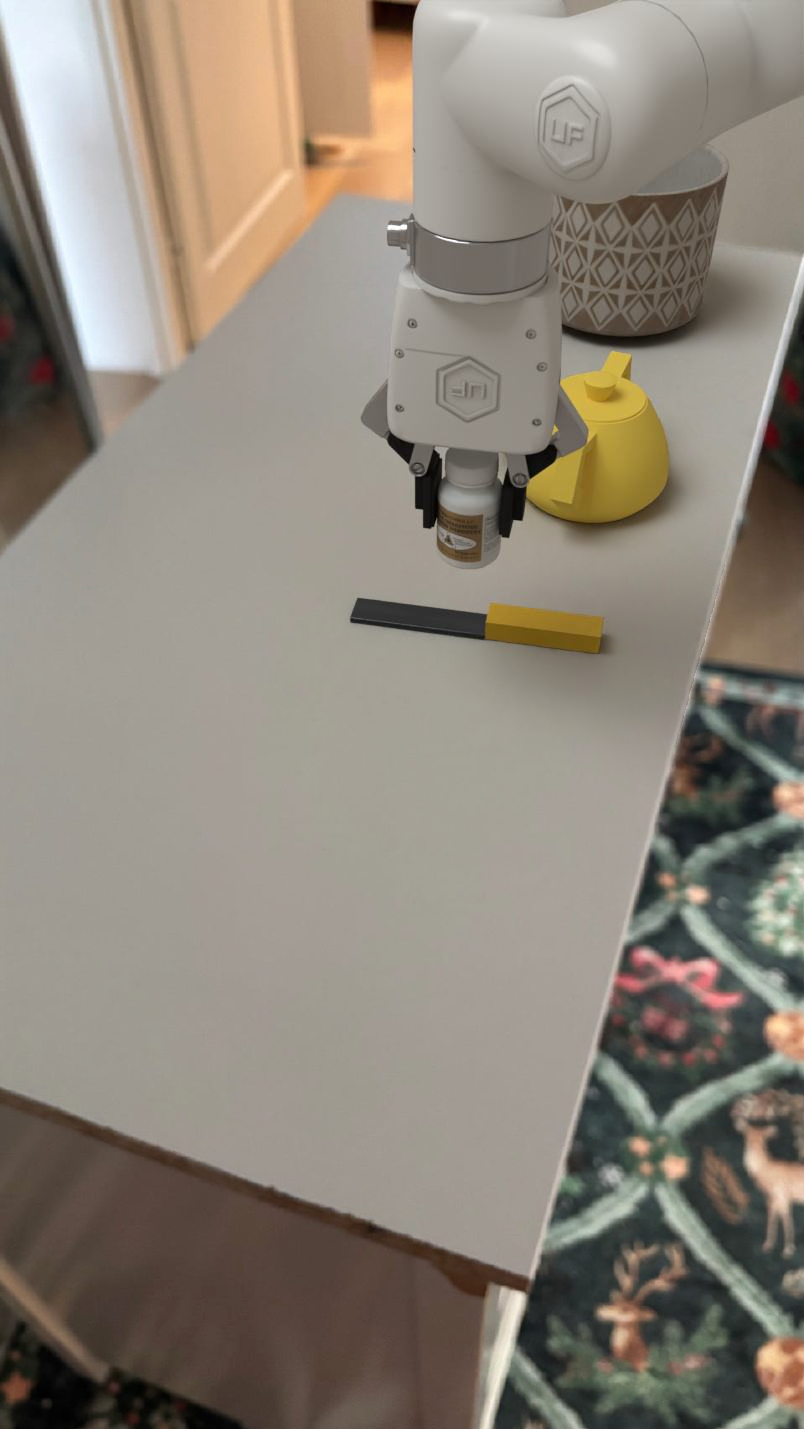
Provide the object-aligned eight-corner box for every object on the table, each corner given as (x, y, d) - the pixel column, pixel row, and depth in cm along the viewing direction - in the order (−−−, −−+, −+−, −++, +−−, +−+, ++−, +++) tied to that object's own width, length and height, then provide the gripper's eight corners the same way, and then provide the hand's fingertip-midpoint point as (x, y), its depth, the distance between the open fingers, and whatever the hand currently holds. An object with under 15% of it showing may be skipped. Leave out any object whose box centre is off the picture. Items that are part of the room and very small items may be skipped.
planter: (554, 265, 134) (567, 120, 122) (711, 287, 129) (741, 138, 117) (511, 335, 121) (522, 181, 109) (684, 362, 116) (714, 204, 105)
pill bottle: (423, 556, 74) (424, 458, 69) (460, 525, 77) (463, 429, 71) (476, 580, 72) (481, 482, 67) (512, 547, 75) (519, 450, 69)
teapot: (503, 411, 110) (509, 307, 102) (683, 445, 105) (704, 338, 97) (437, 521, 97) (438, 411, 89) (639, 565, 92) (659, 452, 84)
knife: (600, 633, 86) (603, 616, 85) (598, 655, 84) (601, 637, 83) (357, 601, 89) (356, 584, 88) (350, 622, 87) (349, 605, 86)
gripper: (315, 266, 58) (334, 540, 71) (631, 291, 56) (590, 570, 69) (348, 212, 63) (360, 477, 76) (639, 233, 61) (600, 503, 74)
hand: (469, 519), depth 73 cm, fingers closed on pill bottle, 4 cm apart
